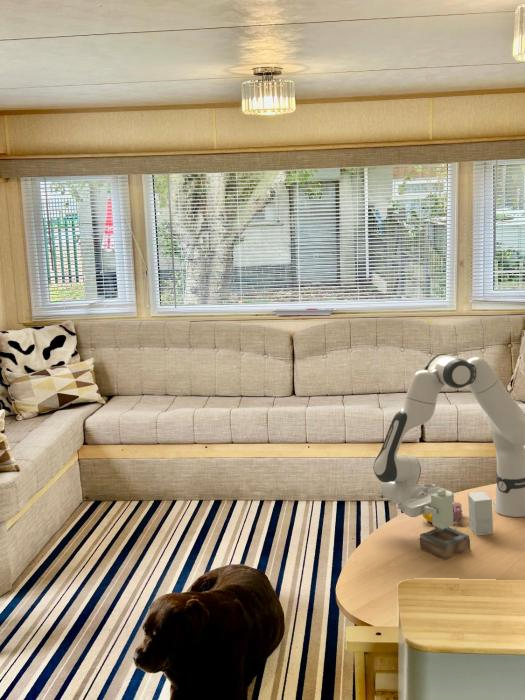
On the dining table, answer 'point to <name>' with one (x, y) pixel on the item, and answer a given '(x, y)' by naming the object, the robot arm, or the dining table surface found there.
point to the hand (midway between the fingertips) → (444, 509)
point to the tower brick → (442, 509)
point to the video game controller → (457, 511)
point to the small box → (480, 513)
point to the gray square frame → (444, 542)
